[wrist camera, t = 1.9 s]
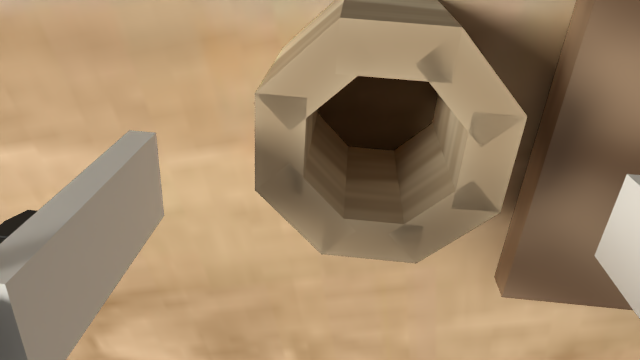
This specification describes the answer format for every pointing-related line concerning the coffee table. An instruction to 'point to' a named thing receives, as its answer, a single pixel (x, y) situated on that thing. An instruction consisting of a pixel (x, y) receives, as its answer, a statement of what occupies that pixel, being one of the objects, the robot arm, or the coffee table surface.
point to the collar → (375, 164)
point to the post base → (578, 162)
